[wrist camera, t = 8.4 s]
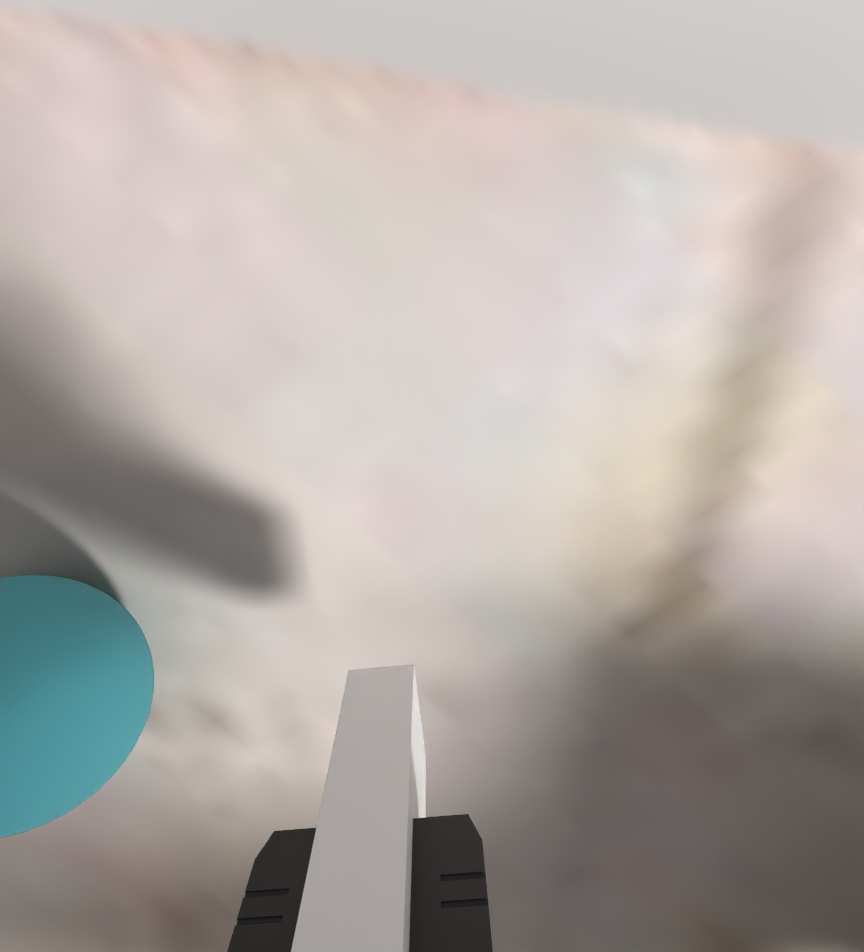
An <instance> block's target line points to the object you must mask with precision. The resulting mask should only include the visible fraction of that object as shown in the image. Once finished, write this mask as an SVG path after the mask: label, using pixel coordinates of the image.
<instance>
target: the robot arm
mask: <svg viewBox="0 0 864 952" xmlns="http://www.w3.org/2000/svg"><path fill="white" fill-rule="evenodd" d="M245 892H246V894H245V898H243V901H242V904H241V908H240V911H239V914H238V918H237V925H236V926H235V928H234V931H233V934H232V938H231V941H230V944H229V948H228V951H227V952H493V950H492V940H491V929H490V919H489V908H488V898H487V887H486V876H485V866H484V855H483V845H482V839H481V837H480V835H479V833H478V832H477V830H476V828H475V826H474V824H473V822H472V821H471V819H470V817H469V815H468V814H464V815H451V816H439V817H426V754H425V746H424V739H423V731H422V723H421V716H420V708H419V700H418V692H417V685H416V677H415V669H414V665H404V666H393V667H381V668H369V669H358V670H349V671H348V676H347V681H346V686H345V691H344V696H343V701H342V706H341V710H340V715H339V720H338V725H337V730H336V735H335V740H334V745H333V749H332V754H331V759H330V764H329V769H328V774H327V779H326V784H325V788H324V793H323V798H322V803H321V808H320V813H319V818H318V822H317V827H316V828H308V829H295V830H282V831H274V833H273V834H272V835H271V837H270V838H269V840H268V841H267V843H266V844H265V846H264V847H263V849H262V850H261V851H260V853H259V854H258V856H257V857H256V859H255V861H254V864H253V868H252V871H251V874H250V878H249V881H248V884H247V888H246V891H245Z"/></svg>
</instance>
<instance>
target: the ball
mask: <svg viewBox="0 0 864 952" xmlns="http://www.w3.org/2000/svg"><path fill="white" fill-rule="evenodd" d="M153 689H154V669H153V662H152V656H151V652H150V649H149V646H148V643H147V641H146V638H145V636H144V634H143V632H142V630H141V628H140V626H139V625H138V623H137V622H136V621H135V619H134V618H133V617H132V615H131V614H130V613H129V612H128V611H127V610H126V609H125V608H124V607H123V606H122V605H121V604H119V603H118V602H117V601H116V600H114V599H113V598H112V597H110V596H109V595H107V594H106V593H104V592H102V591H100V590H98V589H96V588H94V587H92V586H90V585H88V584H85V583H82V582H79V581H75V580H72V579H68V578H62V577H56V576H48V575H20V576H9V577H4V578H0V838H2V837H6V836H10V835H14V834H18V833H22V832H25V831H28V830H30V829H33V828H36V827H39V826H41V825H44V824H46V823H48V822H50V821H52V820H54V819H56V818H58V817H60V816H62V815H64V814H65V813H67V812H68V811H70V810H72V809H73V808H75V807H76V806H78V805H80V804H81V803H82V802H83V801H85V800H86V799H87V798H88V797H90V796H91V795H92V794H94V793H95V792H96V791H97V790H98V789H99V788H100V787H101V786H102V785H103V784H104V783H106V782H107V781H108V780H109V779H110V778H111V777H112V776H113V775H114V773H115V772H116V771H117V770H118V769H119V767H120V766H121V765H122V764H123V763H124V761H125V760H126V758H127V757H128V755H129V754H130V752H131V751H132V749H133V748H134V746H135V744H136V742H137V740H138V738H139V736H140V734H141V732H142V730H143V728H144V726H145V723H146V720H147V717H148V714H149V711H150V707H151V702H152V697H153Z"/></svg>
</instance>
